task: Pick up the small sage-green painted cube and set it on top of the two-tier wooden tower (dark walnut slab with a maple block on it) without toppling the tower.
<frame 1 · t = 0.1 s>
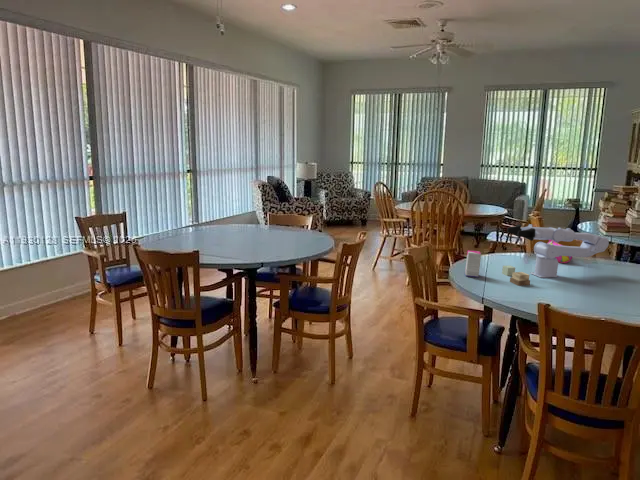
hand: (512, 231, 226), 22 cm above the table, tool horizontal, fingers open, 7 cm apart
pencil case: (556, 259, 270), on the table
top block: (508, 274, 235), on the table
supplement box: (471, 276, 231), on the table
tower base: (519, 284, 221), on the table
tower mid: (520, 279, 220), point 2 cm above the table
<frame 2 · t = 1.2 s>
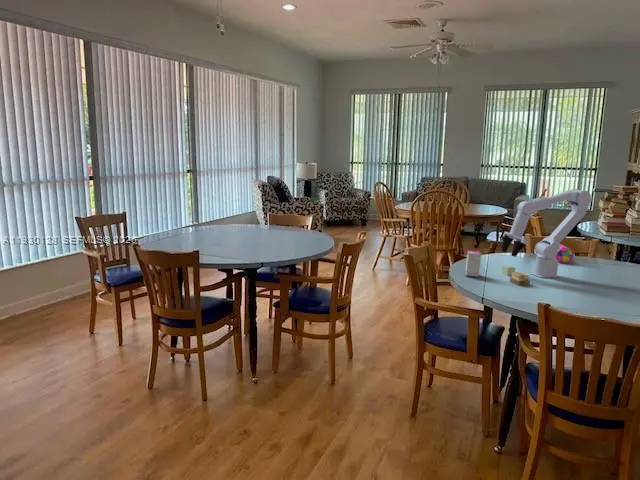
hand: (508, 253, 232), 10 cm above the table, tool pointing down, fingers open, 7 cm apart
nothing on the table moved.
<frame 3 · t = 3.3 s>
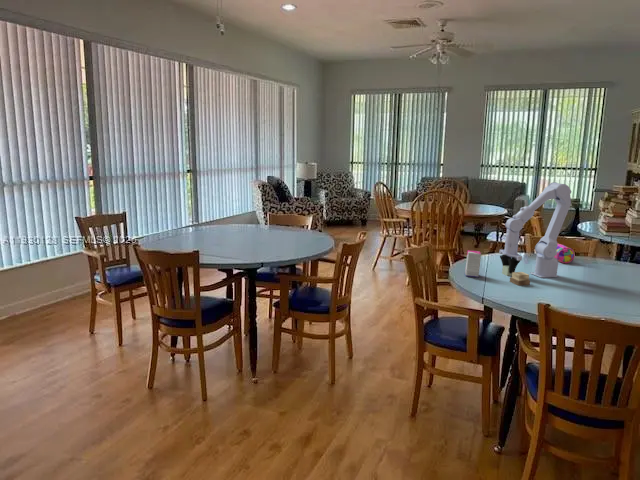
hand: (508, 271, 235), 1 cm above the table, tool pointing down, fingers closed on top block, 4 cm apart
top block: (508, 274, 235), on the table, touching gripper
tower base: (519, 284, 221), on the table, touching tower mid
tower mid: (520, 278, 220), point 2 cm above the table, touching tower base
everything else where it was.
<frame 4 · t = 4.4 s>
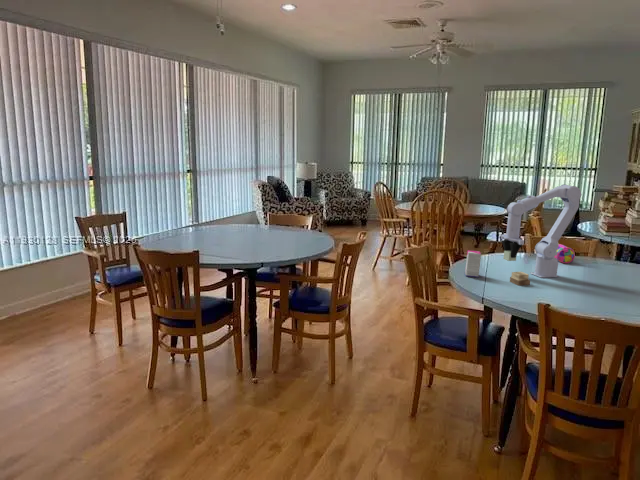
hand: (510, 256, 233), 9 cm above the table, tool pointing down, fingers closed on top block, 4 cm apart
top block: (509, 259, 234), point 7 cm above the table, touching gripper
everything else where it was.
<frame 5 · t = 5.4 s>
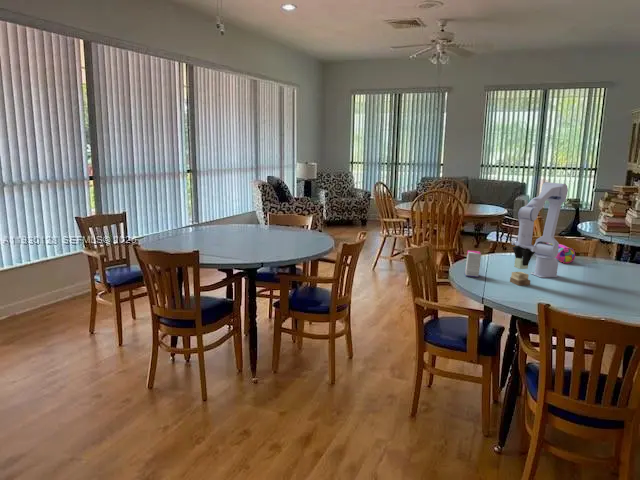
hand: (521, 264, 219), 9 cm above the table, tool pointing down, fingers closed on top block, 4 cm apart
top block: (520, 267, 219), point 7 cm above the table, touching gripper
tower base: (519, 284, 221), on the table
tower mid: (519, 278, 221), point 2 cm above the table
everything else where it was.
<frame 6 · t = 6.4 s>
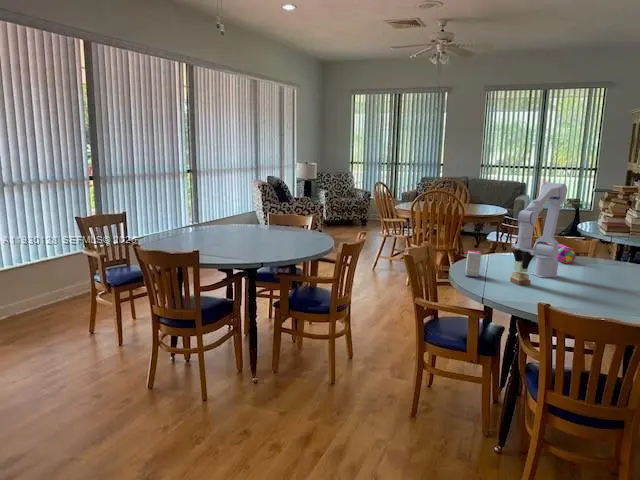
hand: (521, 267, 219), 7 cm above the table, tool pointing down, fingers closed on top block, 4 cm apart
top block: (520, 271, 220), point 6 cm above the table, touching gripper
tower base: (519, 284, 221), on the table, touching tower mid
tower mid: (519, 278, 221), point 2 cm above the table, touching tower base
everything else where it was.
when the fingers open (7 cm above the table, at t = 6.5 s): top block drops 1 cm, resting on tower mid.
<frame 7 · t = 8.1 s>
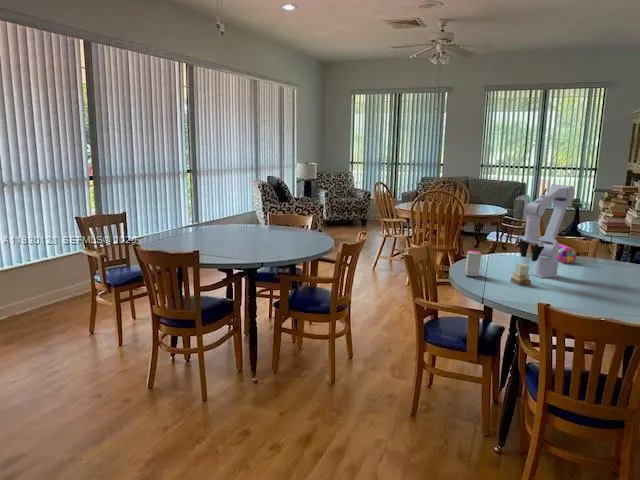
hand: (528, 258, 224), 10 cm above the table, tool pointing down, fingers open, 7 cm apart
top block: (521, 273, 220), point 5 cm above the table, touching tower mid
tower mid: (520, 278, 221), point 2 cm above the table, touching top block, tower base
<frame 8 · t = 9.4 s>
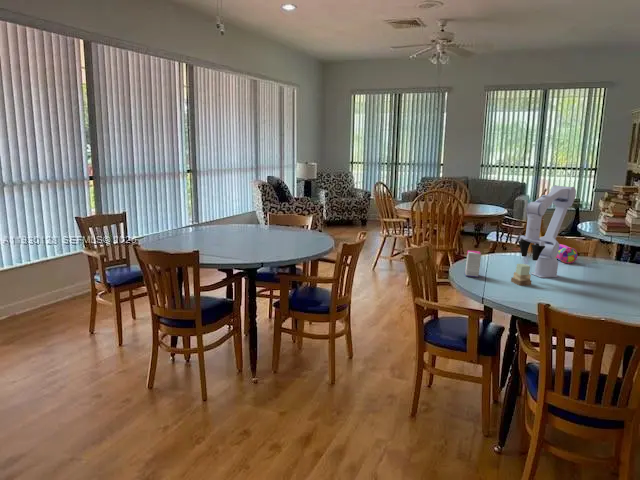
hand: (529, 258, 224), 10 cm above the table, tool pointing down, fingers open, 7 cm apart
at the end: top block 0.2 cm off-centre on the tower base, point 5.0 cm above the tower base's base; top block tilted 1°; tower mid 0.4 cm off-centre on the tower base, point 2.5 cm above the tower base's base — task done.
